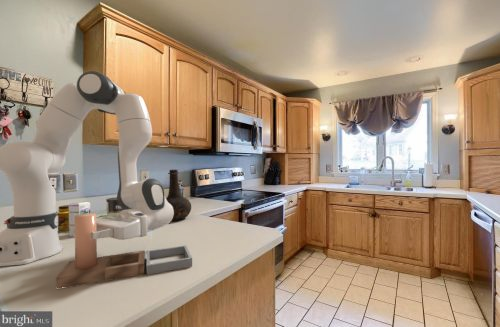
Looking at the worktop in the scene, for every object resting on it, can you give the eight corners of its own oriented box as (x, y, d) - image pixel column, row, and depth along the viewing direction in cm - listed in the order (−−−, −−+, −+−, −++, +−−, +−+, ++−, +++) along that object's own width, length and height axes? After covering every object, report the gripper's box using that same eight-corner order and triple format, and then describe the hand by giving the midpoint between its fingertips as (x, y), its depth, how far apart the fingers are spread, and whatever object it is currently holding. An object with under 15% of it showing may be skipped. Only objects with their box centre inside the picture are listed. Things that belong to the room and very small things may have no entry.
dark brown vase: (195, 215, 144) (194, 168, 144) (184, 223, 126) (183, 169, 126) (167, 215, 146) (166, 169, 146) (152, 222, 128) (151, 170, 128)
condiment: (54, 233, 110) (53, 207, 110) (60, 229, 118) (60, 204, 118) (73, 231, 113) (73, 206, 113) (78, 227, 121) (78, 203, 121)
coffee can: (133, 224, 124) (133, 197, 124) (113, 229, 115) (113, 200, 115) (122, 222, 129) (122, 196, 129) (102, 227, 120) (102, 199, 120)
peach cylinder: (71, 266, 66) (70, 216, 66) (91, 260, 70) (90, 212, 70) (81, 270, 64) (80, 217, 64) (100, 263, 68) (99, 214, 68)
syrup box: (80, 237, 104) (79, 203, 104) (68, 236, 105) (68, 203, 105) (91, 233, 110) (90, 201, 110) (80, 232, 111) (80, 201, 111)
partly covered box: (56, 289, 60) (56, 277, 60) (69, 271, 70) (69, 261, 70) (144, 273, 68) (143, 263, 68) (144, 259, 78) (144, 250, 78)
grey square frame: (146, 274, 67) (146, 265, 67) (147, 258, 79) (146, 250, 79) (192, 266, 72) (192, 258, 72) (186, 252, 84) (186, 245, 84)
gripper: (111, 210, 84) (64, 218, 72) (149, 215, 73) (103, 226, 61) (111, 228, 84) (65, 239, 72) (150, 236, 73) (103, 251, 61)
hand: (83, 233), depth 66 cm, fingers open, 8 cm apart
